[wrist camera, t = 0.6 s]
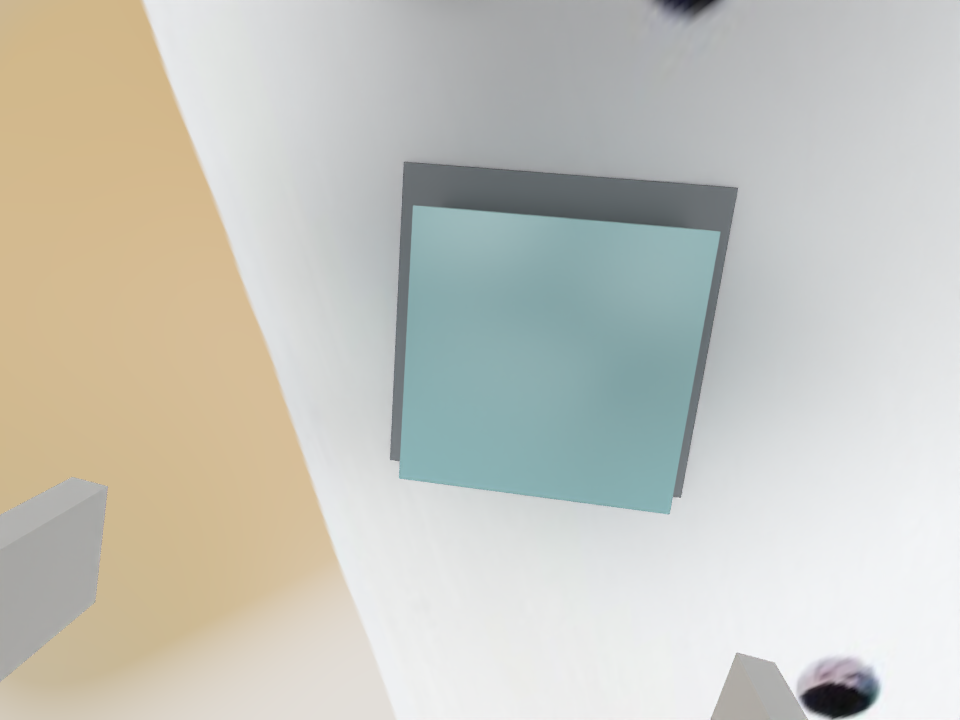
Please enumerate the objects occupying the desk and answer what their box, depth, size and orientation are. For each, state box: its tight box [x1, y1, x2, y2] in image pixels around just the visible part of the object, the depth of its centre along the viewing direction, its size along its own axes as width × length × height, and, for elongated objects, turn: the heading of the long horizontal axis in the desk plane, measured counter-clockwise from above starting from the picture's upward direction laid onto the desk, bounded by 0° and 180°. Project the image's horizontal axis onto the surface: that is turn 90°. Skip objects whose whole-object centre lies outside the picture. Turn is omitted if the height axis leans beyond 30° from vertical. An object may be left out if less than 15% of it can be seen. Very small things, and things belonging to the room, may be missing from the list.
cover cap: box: [399, 205, 721, 514], centre depth 27 cm, size 12×12×6 cm
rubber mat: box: [390, 162, 738, 498], centre depth 30 cm, size 16×16×1 cm
